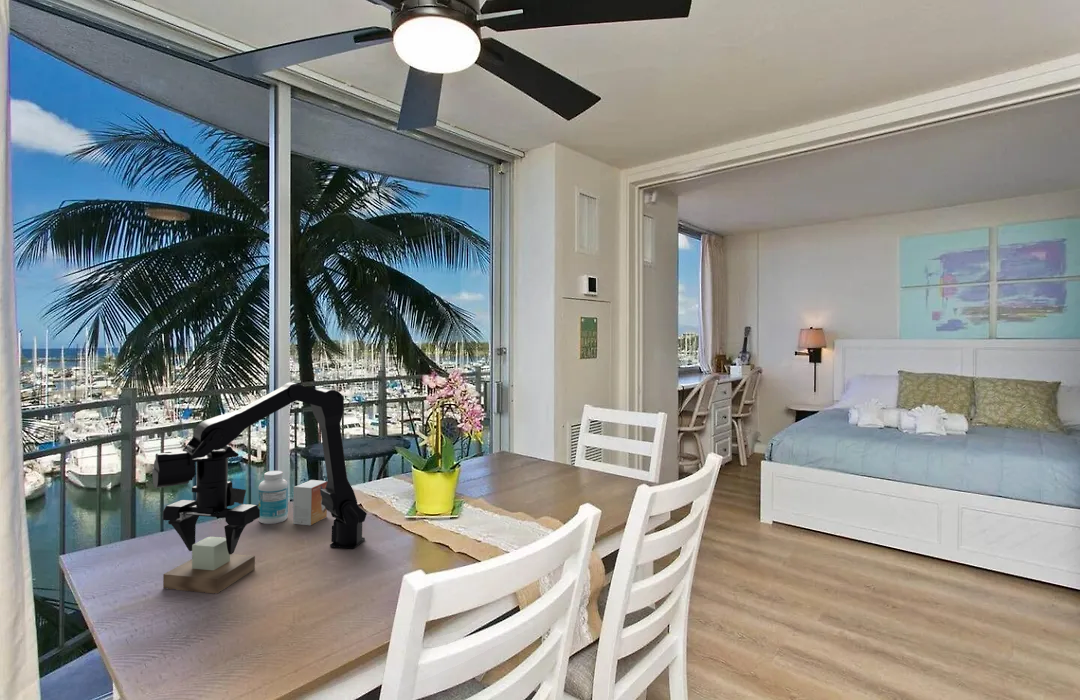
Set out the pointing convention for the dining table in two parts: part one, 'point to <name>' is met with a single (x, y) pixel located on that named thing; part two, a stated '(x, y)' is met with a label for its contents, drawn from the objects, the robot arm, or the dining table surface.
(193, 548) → the sage block
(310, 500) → the small box
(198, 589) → the walnut plinth
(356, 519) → the robot arm
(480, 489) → the dining table surface
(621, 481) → the dining table surface
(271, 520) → the pill bottle
